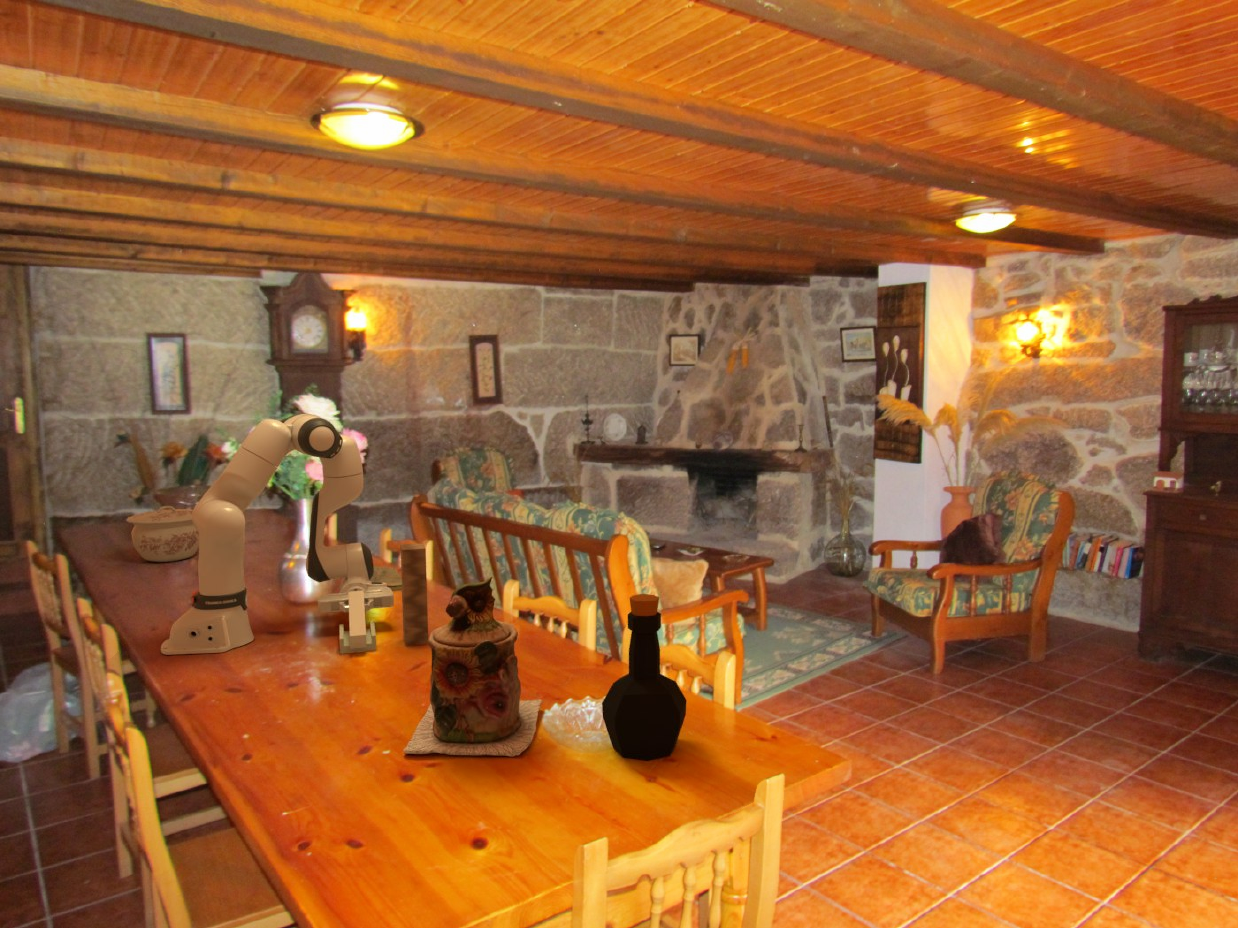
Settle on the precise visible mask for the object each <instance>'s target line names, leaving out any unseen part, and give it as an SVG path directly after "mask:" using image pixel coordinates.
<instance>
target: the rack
mask: <svg viewBox="0 0 1238 928" xmlns="http://www.w3.org/2000/svg"><path fill="white" fill-rule="evenodd" d="M369 627H370V628H366V646H367V647H364V648H354V649H350V630H346V631H345V630H344V628H345V627H344V623H343V624H339V654H340V655H342V654H343V655H344V654H354V653H355V652H356V653H365V652H373V651H374V652H375V651H377V637H376V635H377V634H376V628H375V627H376V626H375V621H369Z"/></svg>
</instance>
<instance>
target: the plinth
mask: <svg viewBox="0 0 1238 928" xmlns="http://www.w3.org/2000/svg"><path fill="white" fill-rule="evenodd" d="M426 550H427V549H426V546H425V544H424V543H404V544H400V568H401V569H400V570H401V571H400V572H401V573H400V574H401V575H400V576H401V579H402V590H401V595H402V596H401V599H402V625H403V626H402V627H403V628H402V629H403V630H402V631H403V633H402V634H403V642H404V645H405V647H410V646H421V645H428V639H429V619H428V618H429V617H428V616H429V615H428V584H427V554H426V553H427V551H426Z"/></svg>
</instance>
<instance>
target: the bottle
mask: <svg viewBox="0 0 1238 928" xmlns="http://www.w3.org/2000/svg"><path fill="white" fill-rule="evenodd" d="M659 602H660V597H659V596H657V595H655V594H649V593H648V594H647V593H639V594H635V595H634V594H633V595H632V596H630V597H629V603H630V604H629V606H630V611H629V613H628V614H627V629H628V630H629V631H631V634H630V641H629V648H628V673H627V674H625V675H624V676H621V677H619V678H618V679H617V680H615V682H613V683H612V684H611V686H610V688H609V690H608V691H607V694H606V695H605V697H604V699H603V700H602V702H601V705H602V706H601V707H602V719H603V722H604V725H605V728H606V731H607V733H608V737H609V739H610V742H611V743H610V744H611V745H612V748H613V749H614V750H615V752H616V753H618V755H620V756H621V757H622V758H627V759H633V760H639V761H646V762H649V761H653V760H659V759H662V758H665V757H669V756H671V755H672V753H673V752H674V749H675V748H676V746H677V743H678V739H679V736H680V733H681V730H682V728H683V724H684V721H685V717H686V714H687V699H686V697H685V695H684V694H683V692H682V690H681V688H680V687H679V685H678V683H677V681H675V680H674V679H672V678H670V677H667V676H666V675H664V674H661V649H660V648H661V647H660V643H659V642H660V641H659V635H658V632H659V630H660V629H661V628H662V613H661V612H658V611H659V610H658V609H659Z"/></svg>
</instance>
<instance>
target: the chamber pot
mask: <svg viewBox="0 0 1238 928" xmlns="http://www.w3.org/2000/svg"><path fill="white" fill-rule="evenodd" d="M192 513H193V509H187V508H185V509H184V508H175V507H174V506H172V505H163V506H160V507H159V508H158V510H151V511H146V512H141V513H136V514H134V515H132V516H128V517H127V518H126V519H125V521H126V522H127V523H129V524H132V525H134V526H133V528H132V530H131V532H130V535H131V541H132V544H133V547H134V549H135V550H136V551H137V553H138V554H139V555H140V556H141V558H143V559H144V560H146V561H148V562H152V563H159V564H161V563H172V562H180V561H183V560H186V559H188V558H191V557H192V556H194V555H195V554H196V553H197V551H199V532H198V530H197V529H196V528H195V526H194V524H193V522H192Z"/></svg>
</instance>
